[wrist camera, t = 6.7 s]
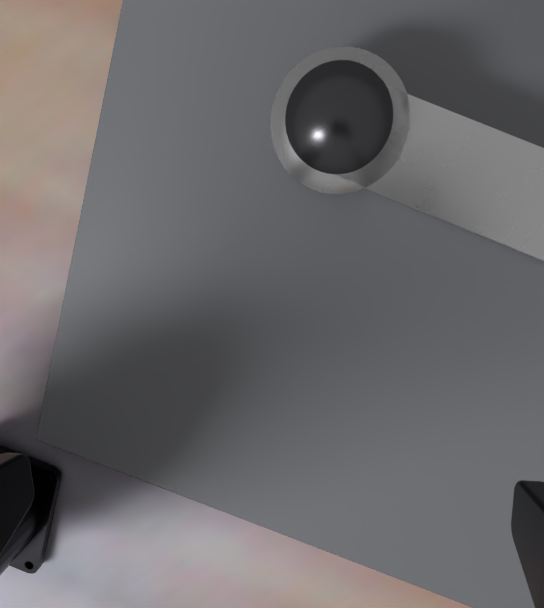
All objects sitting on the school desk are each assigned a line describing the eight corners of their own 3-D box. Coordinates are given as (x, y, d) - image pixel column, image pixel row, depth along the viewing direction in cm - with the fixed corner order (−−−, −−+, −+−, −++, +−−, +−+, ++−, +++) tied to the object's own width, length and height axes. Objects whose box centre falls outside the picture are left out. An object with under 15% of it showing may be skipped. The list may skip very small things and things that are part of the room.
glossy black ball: (369, 187, 15) (370, 187, 14) (275, 157, 15) (271, 155, 15) (406, 84, 14) (410, 78, 13) (306, 53, 14) (304, 45, 14)
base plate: (773, 706, 21) (794, 731, 20) (48, 429, 23) (35, 439, 22) (1261, 127, 14) (1329, 122, 13) (172, -174, 16) (162, -197, 16)
